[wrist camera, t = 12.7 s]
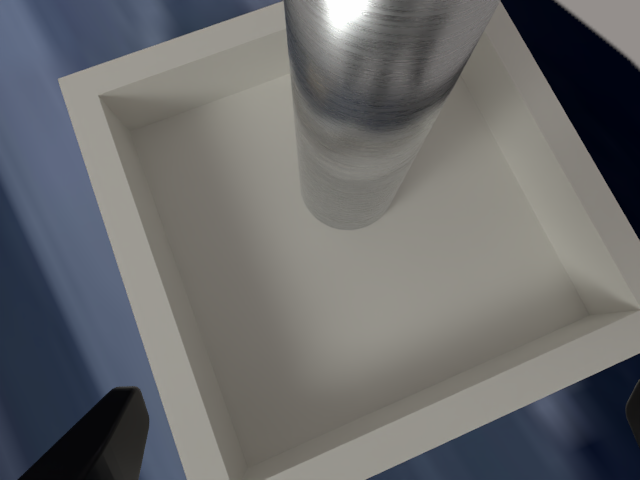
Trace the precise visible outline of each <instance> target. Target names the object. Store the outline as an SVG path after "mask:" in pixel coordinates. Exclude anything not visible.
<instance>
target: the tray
mask: <svg viewBox="0 0 640 480" xmlns="http://www.w3.org/2000/svg"><path fill="white" fill-rule="evenodd" d="M58 82H59V85H60V88H61V91H62V94H63V97H64V100H65V103H66V106H67V109H68V112H69V116H70V119H71V122H72V125H73V128H74V131H75V134H76V137H77V140H78V143H79V146H80V150H81V153H82V156H83V159H84V162H85V165H86V168H87V171H88V174H89V177H90V181H91V184H92V187H93V190H94V193H95V196H96V199H97V202H98V205H99V208H100V211H101V215H102V218H103V221H104V224H105V227H106V230H107V233H108V236H109V239H110V242H111V245H112V249H113V252H114V255H115V258H116V261H117V264H118V267H119V270H120V273H121V276H122V280H123V283H124V286H125V289H126V292H127V295H128V298H129V301H130V304H131V307H132V310H133V314H134V317H135V320H136V323H137V326H138V329H139V332H140V335H141V338H142V341H143V344H144V348H145V351H146V354H147V357H148V360H149V363H150V366H151V369H152V372H153V375H154V379H155V382H156V385H157V388H158V391H159V394H160V397H161V400H162V403H163V406H164V409H165V413H166V416H167V419H168V422H169V425H170V428H171V431H172V434H173V437H174V440H175V443H176V447H177V450H178V453H179V456H180V459H181V462H182V465H183V468H184V471H185V474H186V478H187V480H365V479H368V478H370V477H372V476H374V475H376V474H379V473H381V472H383V471H385V470H387V469H389V468H392V467H394V466H396V465H398V464H400V463H402V462H405V461H407V460H409V459H411V458H413V457H415V456H418V455H420V454H422V453H424V452H426V451H428V450H431V449H433V448H435V447H437V446H439V445H441V444H444V443H446V442H448V441H450V440H452V439H454V438H457V437H459V436H461V435H463V434H465V433H467V432H470V431H472V430H474V429H476V428H478V427H480V426H483V425H485V424H487V423H489V422H491V421H493V420H496V419H498V418H500V417H502V416H504V415H506V414H509V413H511V412H513V411H515V410H517V409H519V408H522V407H524V406H526V405H528V404H530V403H532V402H535V401H537V400H539V399H541V398H543V397H545V396H548V395H550V394H552V393H554V392H556V391H558V390H561V389H563V388H565V387H567V386H569V385H571V384H574V383H576V382H578V381H580V380H582V379H584V378H587V377H589V376H591V375H593V374H595V373H597V372H600V371H602V370H604V369H606V368H608V367H610V366H613V365H615V364H617V363H619V362H621V361H624V360H626V359H628V358H630V357H632V356H634V355H637V354H639V353H640V240H639V239H638V237H637V235H636V234H635V232H634V230H633V228H632V227H631V225H630V223H629V222H628V220H627V218H626V216H625V215H624V213H623V211H622V210H621V208H620V206H619V204H618V203H617V201H616V199H615V197H614V196H613V194H612V192H611V191H610V189H609V187H608V185H607V184H606V182H605V180H604V179H603V177H602V175H601V173H600V172H599V170H598V168H597V166H596V165H595V163H594V161H593V160H592V158H591V156H590V154H589V153H588V151H587V149H586V148H585V146H584V144H583V142H582V141H581V139H580V137H579V135H578V134H577V132H576V130H575V129H574V127H573V125H572V123H571V122H570V120H569V118H568V117H567V115H566V113H565V111H564V110H563V108H562V106H561V104H560V103H559V101H558V99H557V98H556V96H555V94H554V92H553V91H552V89H551V87H550V86H549V84H548V82H547V80H546V79H545V77H544V75H543V73H542V72H541V70H540V68H539V67H538V65H537V63H536V61H535V60H534V58H533V56H532V55H531V53H530V51H529V49H528V48H527V46H526V44H525V42H524V41H523V39H522V37H521V36H520V34H519V32H518V30H517V29H516V27H515V25H514V24H513V22H512V20H511V18H510V17H509V15H508V13H507V12H506V10H505V8H504V6H503V5H502V3H501V1H500V2H499V4H498V6H497V8H496V10H495V11H494V13H493V15H492V17H491V19H490V21H489V23H488V24H487V26H486V28H485V30H484V32H483V34H482V36H481V37H480V39H479V41H478V43H477V45H476V47H475V49H474V50H473V52H472V54H471V56H470V58H469V60H468V61H467V63H466V65H465V67H464V69H463V71H462V73H461V74H460V76H459V78H458V80H457V82H456V84H455V86H454V87H453V89H452V91H451V93H450V95H449V97H448V99H447V100H446V102H445V104H444V106H443V108H442V110H441V111H440V113H439V115H438V117H437V119H436V121H435V123H434V124H433V126H432V128H431V130H430V132H429V134H428V136H427V137H426V139H425V141H424V143H423V145H422V147H421V149H420V150H419V152H418V154H417V156H416V158H415V160H414V161H413V163H412V165H411V167H410V169H409V171H408V173H407V174H406V176H405V178H404V180H403V182H402V184H401V186H400V187H399V189H398V191H397V193H396V195H395V197H394V198H393V200H392V202H391V204H390V206H389V208H388V209H387V211H386V212H385V213H384V215H383V216H382V217H381V218H380V219H378V220H377V221H376V222H374V223H373V224H371V225H369V226H367V227H364V228H361V229H356V230H340V229H335V228H332V227H329V226H327V225H325V224H323V223H322V222H320V221H319V220H317V219H316V218H315V217H314V216H313V215H312V214H311V213H310V211H309V210H308V209H307V207H306V205H305V203H304V201H303V198H302V195H301V188H300V177H299V166H298V155H297V144H296V133H295V122H294V111H293V99H292V88H291V77H290V66H289V55H288V44H287V33H286V21H285V10H284V1H282V2H279V3H276V4H273V5H270V6H267V7H265V8H262V9H259V10H256V11H253V12H250V13H247V14H244V15H241V16H239V17H236V18H233V19H230V20H227V21H224V22H221V23H218V24H215V25H212V26H210V27H207V28H204V29H201V30H198V31H195V32H192V33H189V34H186V35H184V36H181V37H178V38H175V39H172V40H169V41H166V42H163V43H160V44H157V45H155V46H152V47H149V48H146V49H143V50H140V51H137V52H134V53H131V54H129V55H126V56H123V57H120V58H117V59H114V60H111V61H108V62H105V63H103V64H100V65H97V66H94V67H91V68H88V69H85V70H82V71H79V72H76V73H74V74H71V75H68V76H65V77H62V78H59V79H58Z"/></svg>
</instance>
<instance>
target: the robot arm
mask: <svg viewBox="0 0 640 480" xmlns="http://www.w3.org/2000/svg"><path fill="white" fill-rule="evenodd" d="M626 416H627V420H628V422H629V425H630V427H631V429H632V432H633V434H634V437H635V439H636V441H637V444H638V446H639V448H640V379H639V381H638V383H637V384H636V386H635V388H634V390H633V392H632V394H631V396H630V398H629V400H628V402H627V404H626ZM148 429H149V415H148V412H147V409H146V406H145V402H144V399H143V396H142V393H141V391H140V389H139V388H138V387H135V386H129V387H116V388H114V389H112V390H111V391H110V392H109V393H107V394H106V395H105V396H104V397H103V398H102V399H101V400H100V401H99V402H98V403H97V404H96V405H95V406H94V407H93V408H92V409H91V410H90V411H89V412H88V413H87V414H86V415H85V416H83V417H82V418H81V419H80V420H79V421H78V422H77V423H76V424H75V425H74V426H73V427H72V428H71V429H70V430H69V431H68V432H67V433H66V434H65V435H64V436H63V437H62V438H61V439H59V440H58V441H57V442H56V443H55V444H54V445H53V446H52V447H51V448H50V449H49V450H48V451H47V452H46V453H45V454H44V455H43V456H42V457H41V458H40V459H39V460H38V461H37V462H36V463H34V464H33V465H32V466H31V467H30V468H29V469H28V470H27V471H26V472H25V473H24V474H23V475H22V476H21V477H20V478H19V479H18V480H138V478H139V473H140V468H141V464H142V459H143V454H144V449H145V444H146V439H147V434H148Z"/></svg>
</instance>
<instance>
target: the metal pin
mask: <svg viewBox="0 0 640 480" xmlns="http://www.w3.org/2000/svg"><path fill="white" fill-rule="evenodd" d="M499 2H500V0H284V10H285V21H286V33H287V44H288V55H289V66H290V77H291V88H292V99H293V111H294V122H295V133H296V144H297V155H298V166H299V177H300V188H301V195H302V198H303V201H304V203H305V205H306V207H307V209H308V210H309V211H310V213H311V214H312V215H313V216H314V217H315V218H316V219H317V220H319V221H320V222H322V223H323V224H325V225H327V226H329V227H332V228H335V229H340V230H356V229H361V228H364V227H367V226H369V225H371V224H373V223H374V222H376V221H377V220H378V219H380V218H381V217H382V216H383V215H384V213H385V212H386V211H387V209H388V208H389V206H390V204H391V202H392V200H393V198H394V197H395V195H396V193H397V191H398V189H399V187H400V186H401V184H402V182H403V180H404V178H405V176H406V174H407V173H408V171H409V169H410V167H411V165H412V163H413V161H414V160H415V158H416V156H417V154H418V152H419V150H420V149H421V147H422V145H423V143H424V141H425V139H426V137H427V136H428V134H429V132H430V130H431V128H432V126H433V124H434V123H435V121H436V119H437V117H438V115H439V113H440V111H441V110H442V108H443V106H444V104H445V102H446V100H447V99H448V97H449V95H450V93H451V91H452V89H453V87H454V86H455V84H456V82H457V80H458V78H459V76H460V74H461V73H462V71H463V69H464V67H465V65H466V63H467V61H468V60H469V58H470V56H471V54H472V52H473V50H474V49H475V47H476V45H477V43H478V41H479V39H480V37H481V36H482V34H483V32H484V30H485V28H486V26H487V24H488V23H489V21H490V19H491V17H492V15H493V13H494V11H495V10H496V8H497V6H498V4H499Z"/></svg>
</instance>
